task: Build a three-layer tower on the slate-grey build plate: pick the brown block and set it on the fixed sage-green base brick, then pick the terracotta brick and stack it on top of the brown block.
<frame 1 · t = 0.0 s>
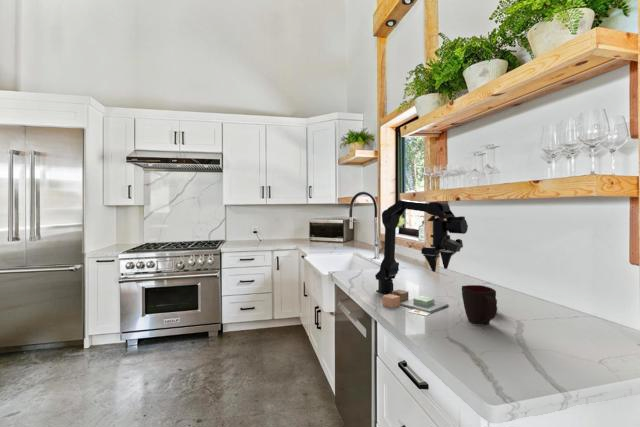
hand: (440, 270, 133), 15 cm above the table, fingers open, 9 cm apart
instruction card: (420, 312, 124), on the table
build plate: (423, 305, 133), on the table
brown block: (400, 300, 141), on the table
brick terracotta: (391, 305, 133), on the table
fruit: (485, 312, 125), on the table
cup: (481, 324, 111), on the table
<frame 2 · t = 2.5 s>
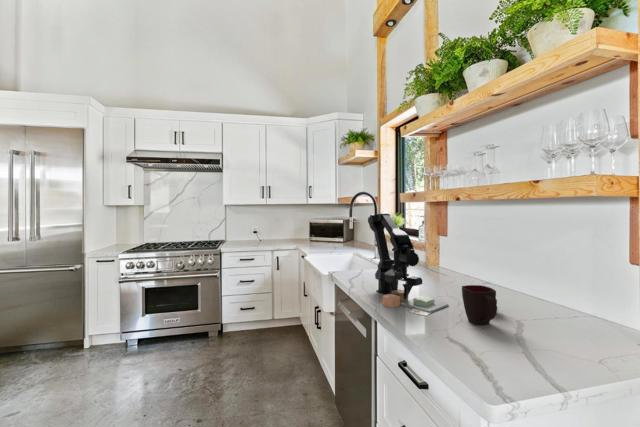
hand: (400, 297, 141), 1 cm above the table, fingers closed on brown block, 5 cm apart
brown block: (399, 300, 141), on the table, touching gripper
everything else where it was.
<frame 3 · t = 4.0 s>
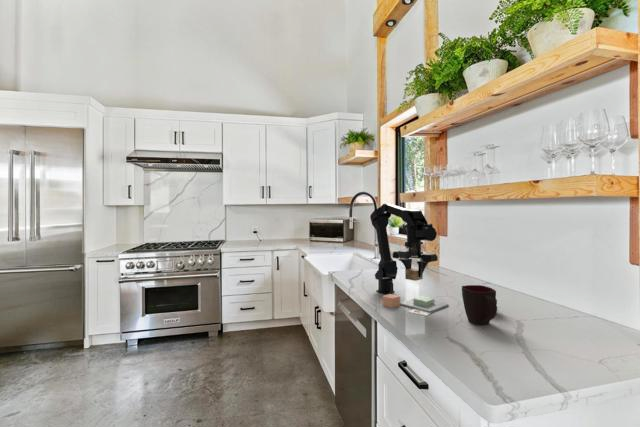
hand: (414, 276, 135), 12 cm above the table, fingers closed on brown block, 5 cm apart
brown block: (414, 278, 135), point 10 cm above the table, touching gripper
everything else where it was.
when the fingers open (5 cm above the table, at t = 5.8 s): brown block drops 1 cm, resting on build plate.
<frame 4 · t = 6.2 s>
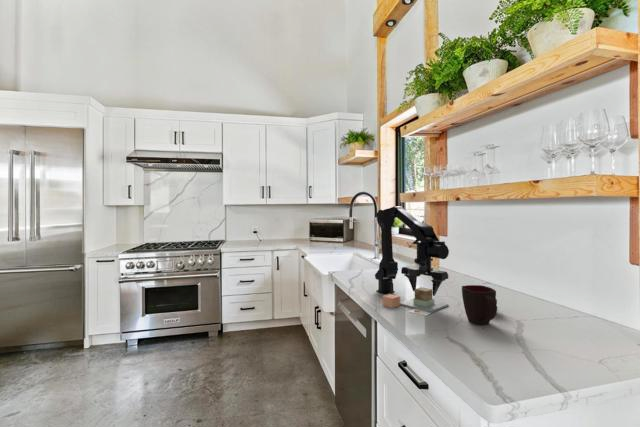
hand: (423, 293, 133), 5 cm above the table, fingers open, 9 cm apart
brown block: (423, 298, 133), point 3 cm above the table, touching build plate
everything else where it was.
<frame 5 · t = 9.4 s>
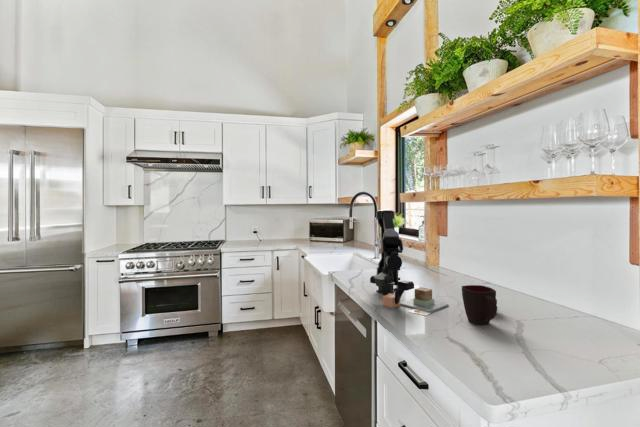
hand: (391, 302, 133), 1 cm above the table, fingers closed on brick terracotta, 5 cm apart
brick terracotta: (391, 305, 133), on the table, touching gripper
everything else where it was.
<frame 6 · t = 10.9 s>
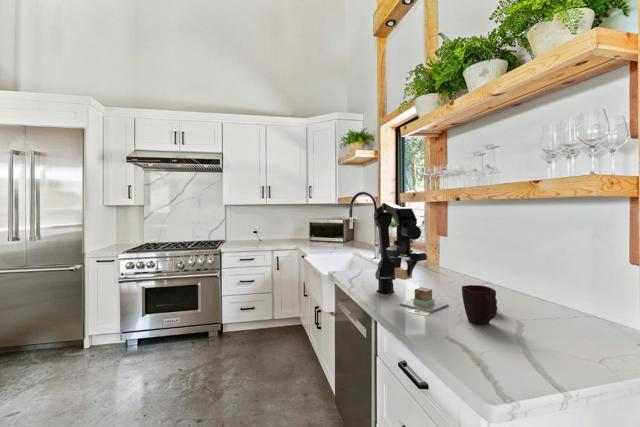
hand: (403, 275, 133), 13 cm above the table, fingers closed on brick terracotta, 5 cm apart
brick terracotta: (403, 277, 133), point 11 cm above the table, touching gripper
everything else where it was.
when the fingers open (9 cm above the table, at t = 12.4 s): brick terracotta drops 1 cm, resting on brown block.
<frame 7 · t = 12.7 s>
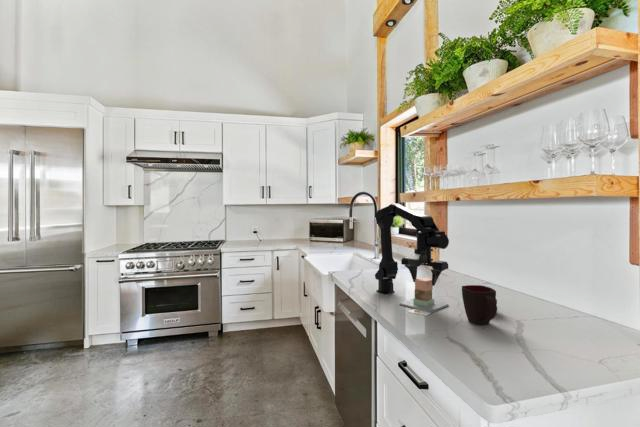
hand: (423, 283, 133), 9 cm above the table, fingers open, 8 cm apart
brown block: (423, 298, 133), point 3 cm above the table, touching brick terracotta, build plate
brick terracotta: (423, 289, 133), point 7 cm above the table, touching brown block
everything else where it was.
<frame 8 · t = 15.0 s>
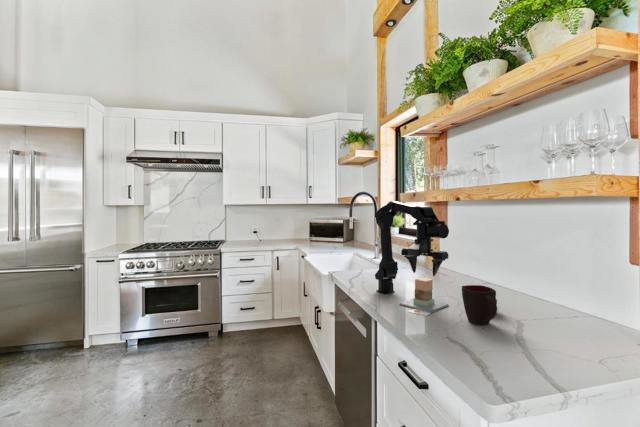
hand: (423, 274, 133), 13 cm above the table, fingers open, 9 cm apart
nothing on the table moved.
at the end: brown block 0.3 cm off-centre on the build plate, point 2.8 cm above the build plate's base; brick terracotta 0.3 cm off-centre on the brown block, point 4.0 cm above the brown block's base; brick terracotta tilted 0° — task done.
